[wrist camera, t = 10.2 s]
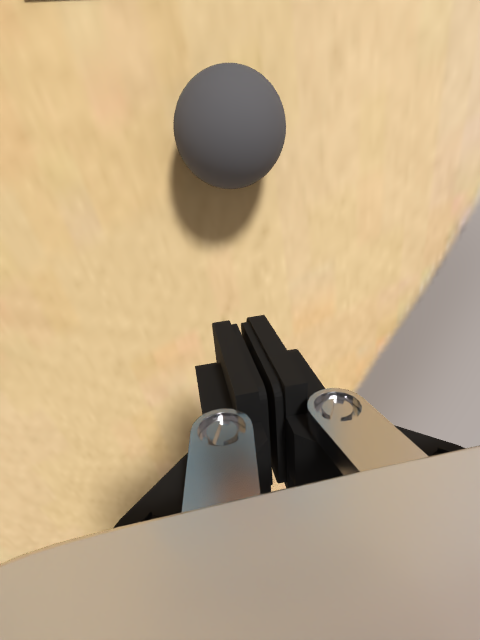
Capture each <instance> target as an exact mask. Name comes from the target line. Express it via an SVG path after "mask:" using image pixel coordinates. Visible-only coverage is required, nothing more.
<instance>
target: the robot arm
mask: <svg viewBox="0 0 480 640" xmlns="http://www.w3.org/2000/svg"><path fill="white" fill-rule="evenodd" d="M212 328H213V336H214V344H215V352H216V360H217V363H211V364H205V365H199V366H195V369H196V376H197V382H198V389H199V395H200V402H201V408H202V414H203V415H202V416H201V417H199V418H198V419H197V420H196V421H195V422H194V424H193V425H192V428H191V432H190V441H189V450H188V453H187V454H186V455H185V456H184V457H183V458H182V459H181V460H180V461H179V462H178V463H177V464H176V465H175V466H174V467H173V468H172V469H171V470H170V471H169V472H168V473H167V474H166V475H165V476H164V477H163V478H162V479H161V480H160V481H159V482H158V483H157V484H156V485H155V486H154V487H153V488H152V489H151V490H150V491H149V492H148V493H146V494H145V495H144V496H143V497H142V498H141V499H140V500H139V501H138V502H137V503H136V504H135V505H134V506H133V507H132V508H131V509H130V510H129V511H128V512H127V513H126V514H125V515H124V516H123V517H122V518H121V519H120V520H119V522H118V523H117V524H116V525H115V527H114V528H113V529H109V530H105V531H101V532H98V533H94V534H90V535H86V536H83V537H79V538H75V539H71V540H67V541H64V542H60V543H56V544H53V545H50V546H47V547H44V548H41V549H38V550H35V551H32V552H29V553H26V554H23V555H20V556H18V557H15V558H13V559H11V560H8V561H6V562H4V563H1V564H0V640H480V446H475V447H470V448H463V447H461V446H458V445H456V444H453V443H449V442H446V441H443V440H439V439H436V438H433V437H430V436H427V435H423V434H420V433H417V432H414V431H411V430H407V429H404V428H401V427H398V426H395V425H393V424H392V423H390V422H389V421H388V420H387V419H386V418H385V417H384V416H383V415H381V414H380V413H379V412H378V411H377V410H376V409H375V408H374V407H372V406H371V405H370V404H369V403H368V402H367V401H366V400H365V399H364V398H362V397H361V396H360V395H358V394H357V393H354V392H352V391H349V390H345V389H340V388H328V389H325V388H324V386H323V385H322V383H321V382H320V381H319V379H318V378H317V376H316V375H315V373H314V372H313V371H312V369H311V368H310V366H309V365H308V363H307V362H306V361H305V359H304V358H303V356H302V355H301V354H300V352H299V351H298V350H297V349H293V350H287V349H286V348H285V346H284V345H283V343H282V342H281V340H280V338H279V337H278V335H277V334H276V332H275V331H274V329H273V328H272V326H271V325H270V323H269V321H268V320H267V318H266V317H265V316H264V315H261V316H254V317H248V318H247V322H245V323H241V331H242V334H241V332H240V330H239V328H238V326H237V324H232V325H231V323H230V321H222V322H216V323H212ZM272 469H273V472H274V475H275V478H276V480H277V482H278V483H283V482H284V483H285V486H286V489H282V490H277V491H273V492H271V485H272V484H273V483H272Z"/></svg>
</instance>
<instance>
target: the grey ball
mask: <svg viewBox="0 0 480 640" xmlns="http://www.w3.org/2000/svg"><path fill="white" fill-rule="evenodd" d="M285 134H286V120H285V114H284V109H283V105H282V102H281V100H280V97H279V95H278V94H277V92H276V90H275V89H274V87H273V86H272V84H271V83H270V82H269V81H268V80H267V79H266V78H265V77H264V76H263V75H262V74H260V73H259V72H257V71H256V70H254V69H252V68H250V67H248V66H245V65H242V64H237V63H222V64H216V65H213V66H210V67H208V68H206V69H204V70H202V71H201V72H199V73H198V74H197V75H195V76H194V77H193V78H192V79H191V80H190V81H189V83H188V84H187V85H186V87H185V88H184V89H183V91H182V93H181V95H180V97H179V100H178V102H177V105H176V110H175V114H174V136H175V141H176V145H177V148H178V151H179V153H180V155H181V157H182V159H183V161H184V162H185V164H186V165H187V167H188V168H189V169H190V170H191V171H192V173H194V174H195V175H196V176H197V177H198V178H200V179H201V180H202V181H204V182H206V183H208V184H210V185H212V186H215V187H219V188H224V189H236V188H242V187H246V186H248V185H251V184H253V183H255V182H256V181H258V180H260V179H261V178H262V177H264V176H265V175H266V174H267V173H268V172H269V171H270V170H271V168H272V167H273V166H274V164H275V163H276V161H277V160H278V158H279V156H280V153H281V151H282V148H283V144H284V140H285Z"/></svg>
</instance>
